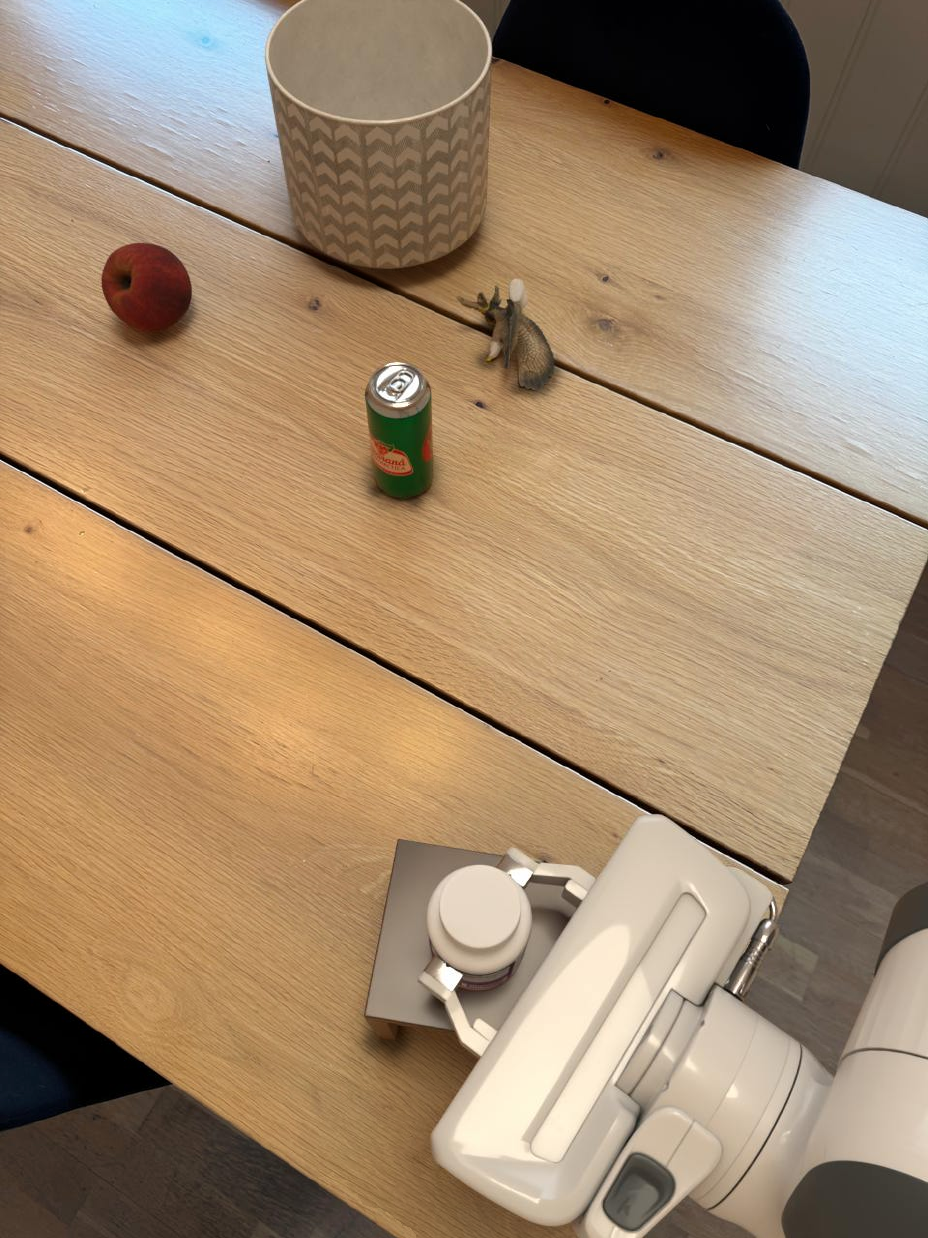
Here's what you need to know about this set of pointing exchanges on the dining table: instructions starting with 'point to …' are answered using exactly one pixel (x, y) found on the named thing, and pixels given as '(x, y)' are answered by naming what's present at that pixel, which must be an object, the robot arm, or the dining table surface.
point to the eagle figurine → (516, 335)
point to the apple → (146, 286)
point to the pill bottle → (479, 925)
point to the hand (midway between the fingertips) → (464, 913)
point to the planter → (383, 125)
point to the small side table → (410, 953)
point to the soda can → (400, 429)
